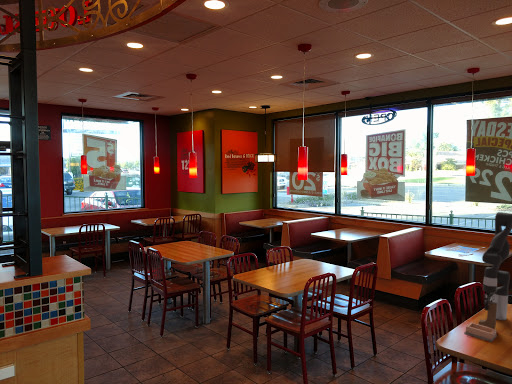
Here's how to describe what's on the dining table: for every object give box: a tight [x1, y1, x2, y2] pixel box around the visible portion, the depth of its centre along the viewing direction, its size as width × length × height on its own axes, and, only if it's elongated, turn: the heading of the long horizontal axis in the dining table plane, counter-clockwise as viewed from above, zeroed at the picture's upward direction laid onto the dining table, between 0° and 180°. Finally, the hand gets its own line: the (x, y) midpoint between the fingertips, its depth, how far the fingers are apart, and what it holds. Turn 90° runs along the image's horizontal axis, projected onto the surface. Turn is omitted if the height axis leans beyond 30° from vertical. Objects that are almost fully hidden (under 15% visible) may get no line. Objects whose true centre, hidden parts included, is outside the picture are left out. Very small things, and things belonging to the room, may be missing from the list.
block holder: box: [464, 322, 498, 343], centre depth 239 cm, size 12×15×4 cm
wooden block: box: [478, 302, 497, 329], centre depth 248 cm, size 9×4×18 cm, turn 51°
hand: (488, 308), depth 247 cm, fingers open, 8 cm apart
